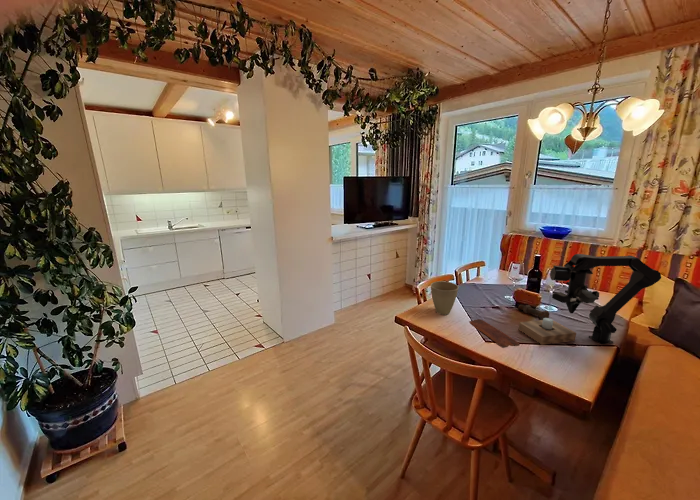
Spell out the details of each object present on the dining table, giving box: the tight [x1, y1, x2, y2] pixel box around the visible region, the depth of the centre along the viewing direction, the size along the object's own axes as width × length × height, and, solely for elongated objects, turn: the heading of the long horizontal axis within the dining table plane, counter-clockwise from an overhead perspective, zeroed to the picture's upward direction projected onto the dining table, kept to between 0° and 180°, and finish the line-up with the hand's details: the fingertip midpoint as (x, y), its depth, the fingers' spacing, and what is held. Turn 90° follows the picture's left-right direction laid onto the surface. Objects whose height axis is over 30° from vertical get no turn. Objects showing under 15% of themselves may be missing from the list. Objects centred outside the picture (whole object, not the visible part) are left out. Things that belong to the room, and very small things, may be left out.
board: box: [518, 319, 577, 346], centre depth 139 cm, size 18×14×4 cm
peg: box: [542, 317, 554, 330], centre depth 139 cm, size 4×4×8 cm
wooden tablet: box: [468, 318, 520, 349], centre depth 143 cm, size 27×10×2 cm, turn 14°
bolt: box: [517, 304, 550, 320], centre depth 160 cm, size 6×5×15 cm
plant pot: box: [430, 280, 460, 316], centre depth 163 cm, size 15×15×16 cm
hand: (571, 313), depth 135 cm, fingers closed
